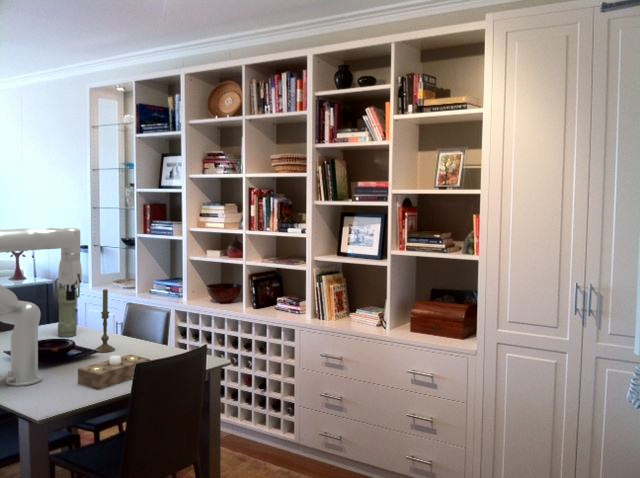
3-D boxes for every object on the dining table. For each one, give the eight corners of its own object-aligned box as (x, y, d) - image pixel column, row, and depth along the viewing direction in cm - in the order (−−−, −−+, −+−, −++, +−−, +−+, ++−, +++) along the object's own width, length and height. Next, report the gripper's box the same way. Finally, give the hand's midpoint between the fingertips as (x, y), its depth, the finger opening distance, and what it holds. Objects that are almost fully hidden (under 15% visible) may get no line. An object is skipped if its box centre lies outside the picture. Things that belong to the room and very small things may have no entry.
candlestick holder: (93, 353, 268) (93, 289, 265) (95, 348, 276) (96, 286, 274) (114, 352, 270) (114, 289, 268) (115, 347, 279) (116, 286, 277)
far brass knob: (132, 372, 238) (132, 359, 237) (124, 370, 240) (124, 357, 239) (140, 369, 241) (140, 356, 241) (132, 367, 244) (133, 355, 243)
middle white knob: (114, 372, 230) (114, 358, 229) (107, 370, 232) (107, 356, 232) (123, 369, 234) (123, 356, 233) (115, 367, 236) (115, 354, 235)
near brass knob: (95, 383, 222) (95, 369, 222) (88, 381, 224) (88, 367, 224) (104, 380, 226) (104, 367, 226) (97, 378, 228) (97, 365, 228)
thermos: (53, 334, 299) (53, 268, 297) (78, 332, 305) (78, 267, 302) (55, 338, 292) (55, 270, 289) (80, 336, 297) (80, 269, 295)
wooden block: (98, 389, 219) (98, 374, 218) (77, 383, 225) (77, 368, 224) (149, 373, 241) (150, 359, 241) (130, 368, 247) (130, 354, 247)
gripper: (51, 256, 243) (51, 299, 244) (74, 259, 235) (74, 303, 237) (67, 255, 249) (67, 297, 251) (89, 258, 242) (89, 301, 243)
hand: (70, 300), depth 244 cm, fingers closed
